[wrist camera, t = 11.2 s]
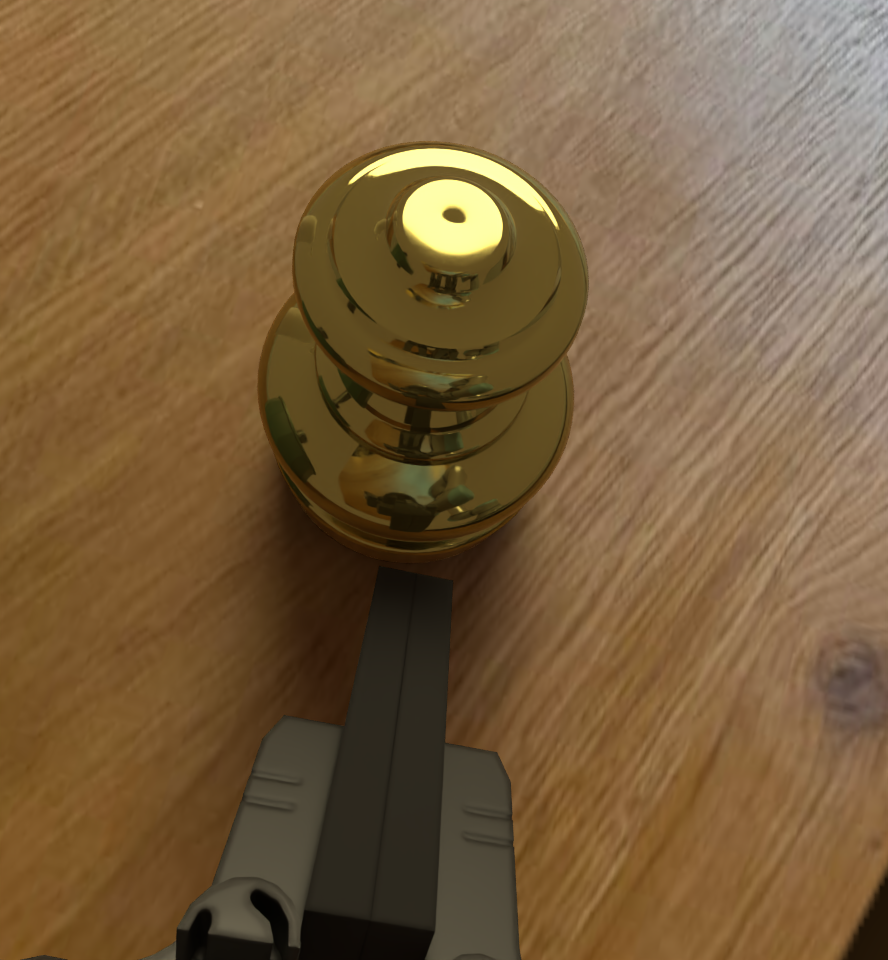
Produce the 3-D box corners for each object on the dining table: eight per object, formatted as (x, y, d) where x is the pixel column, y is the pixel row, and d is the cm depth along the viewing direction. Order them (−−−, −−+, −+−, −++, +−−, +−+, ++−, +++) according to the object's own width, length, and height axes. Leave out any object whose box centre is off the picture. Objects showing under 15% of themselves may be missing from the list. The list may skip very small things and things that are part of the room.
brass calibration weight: (439, 621, 18) (525, 566, 9) (223, 464, 19) (79, 249, 9) (577, 419, 20) (768, 199, 11) (380, 283, 21) (396, -43, 11)
